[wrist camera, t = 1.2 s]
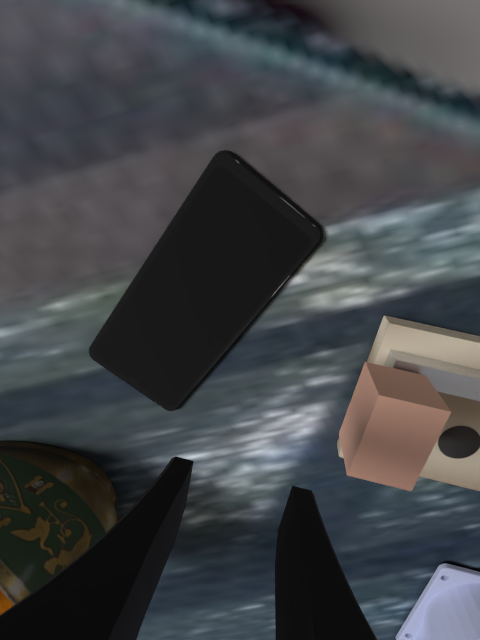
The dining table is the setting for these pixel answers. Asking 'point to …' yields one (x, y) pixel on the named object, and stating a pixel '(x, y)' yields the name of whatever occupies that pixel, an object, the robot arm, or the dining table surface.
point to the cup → (47, 514)
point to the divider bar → (439, 373)
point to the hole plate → (466, 414)
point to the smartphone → (205, 281)
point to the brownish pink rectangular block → (391, 426)
